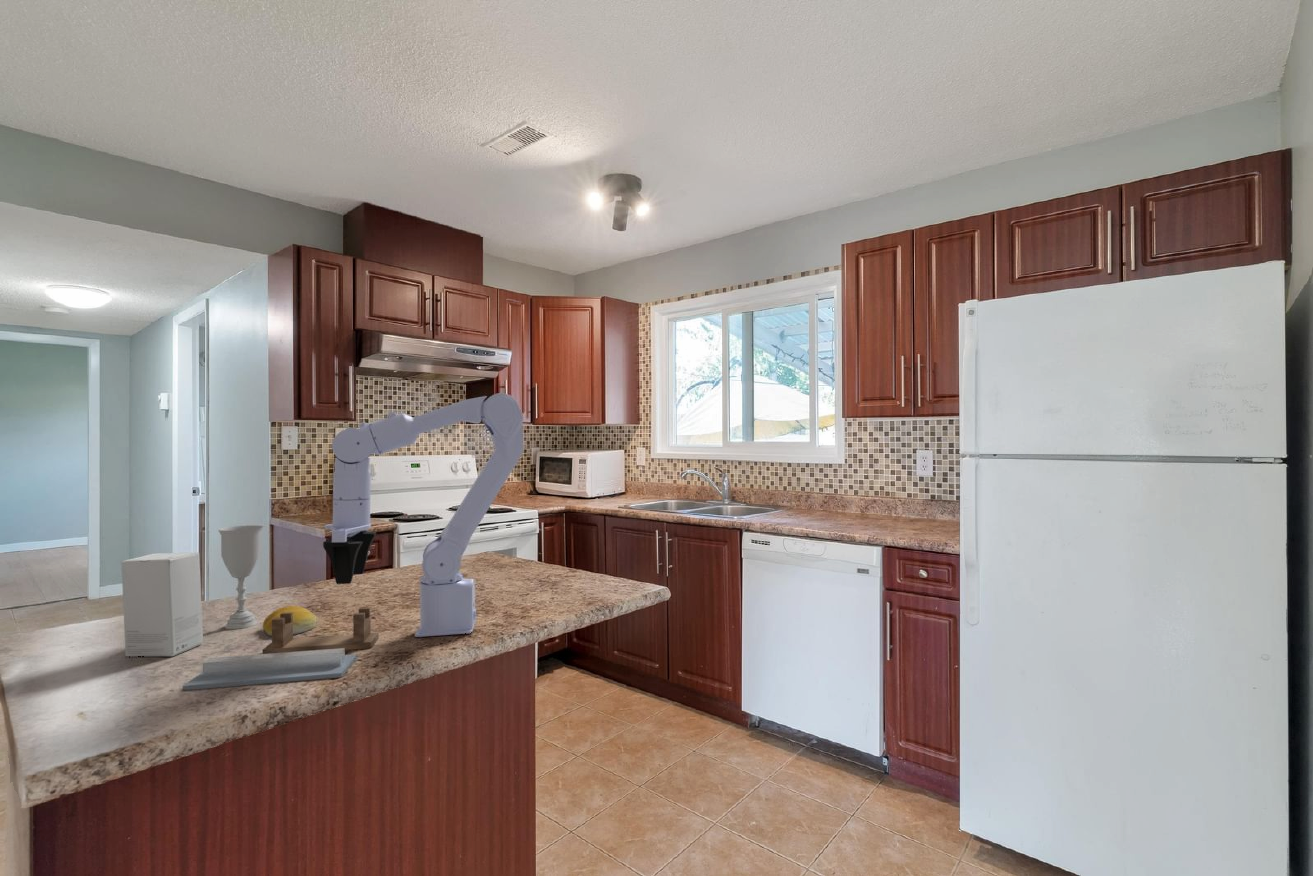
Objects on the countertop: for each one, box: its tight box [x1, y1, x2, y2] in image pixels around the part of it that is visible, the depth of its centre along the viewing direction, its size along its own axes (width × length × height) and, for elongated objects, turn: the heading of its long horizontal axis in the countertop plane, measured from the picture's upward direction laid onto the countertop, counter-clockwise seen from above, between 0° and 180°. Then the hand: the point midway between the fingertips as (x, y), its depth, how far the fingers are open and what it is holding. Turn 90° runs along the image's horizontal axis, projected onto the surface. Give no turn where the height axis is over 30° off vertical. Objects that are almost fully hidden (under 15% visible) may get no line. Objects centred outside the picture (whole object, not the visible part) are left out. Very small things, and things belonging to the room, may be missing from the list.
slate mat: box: [182, 653, 358, 691], centre depth 89 cm, size 20×8×1 cm, turn 102°
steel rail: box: [202, 648, 346, 677], centre depth 89 cm, size 18×2×2 cm, turn 102°
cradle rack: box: [262, 607, 380, 654], centre depth 100 cm, size 16×5×6 cm, turn 102°
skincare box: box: [120, 551, 204, 658], centre depth 99 cm, size 8×7×16 cm
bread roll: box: [262, 605, 318, 637], centre depth 110 cm, size 8×9×4 cm
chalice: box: [217, 525, 264, 630], centre depth 113 cm, size 7×7×18 cm
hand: (350, 578), depth 104 cm, fingers open, 7 cm apart
